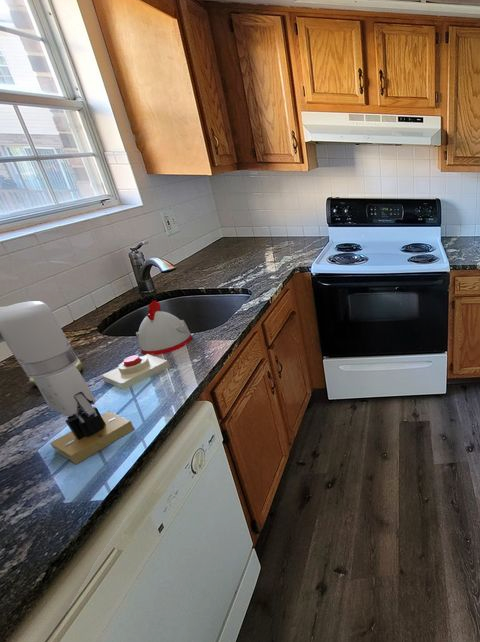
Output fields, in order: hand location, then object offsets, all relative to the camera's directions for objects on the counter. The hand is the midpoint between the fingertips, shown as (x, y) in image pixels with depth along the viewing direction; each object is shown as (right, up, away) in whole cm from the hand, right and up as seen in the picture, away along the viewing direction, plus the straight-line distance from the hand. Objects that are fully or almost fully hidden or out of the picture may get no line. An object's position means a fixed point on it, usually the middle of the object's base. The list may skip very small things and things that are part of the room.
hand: (89, 428), depth 81 cm
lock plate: (0, -3, +1) cm, 3 cm away
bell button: (-10, +11, +23) cm, 28 cm away
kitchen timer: (-14, +15, +40) cm, 45 cm away
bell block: (-10, +8, +25) cm, 28 cm away
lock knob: (0, -1, 0) cm, 1 cm away
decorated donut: (-33, +7, +24) cm, 41 cm away
